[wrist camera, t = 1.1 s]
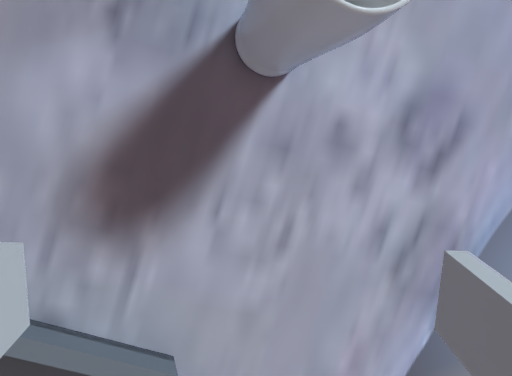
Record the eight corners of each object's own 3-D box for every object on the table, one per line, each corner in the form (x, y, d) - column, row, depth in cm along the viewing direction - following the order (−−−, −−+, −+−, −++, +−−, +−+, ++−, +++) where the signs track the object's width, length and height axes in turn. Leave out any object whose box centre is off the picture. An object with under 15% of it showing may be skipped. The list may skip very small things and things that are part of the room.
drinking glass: (288, 104, 34) (401, 44, 20) (208, 60, 33) (266, -39, 18) (324, 26, 35) (457, -86, 21) (246, -21, 34) (332, -177, 19)
